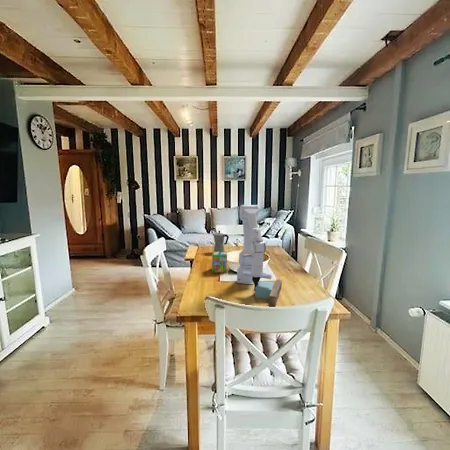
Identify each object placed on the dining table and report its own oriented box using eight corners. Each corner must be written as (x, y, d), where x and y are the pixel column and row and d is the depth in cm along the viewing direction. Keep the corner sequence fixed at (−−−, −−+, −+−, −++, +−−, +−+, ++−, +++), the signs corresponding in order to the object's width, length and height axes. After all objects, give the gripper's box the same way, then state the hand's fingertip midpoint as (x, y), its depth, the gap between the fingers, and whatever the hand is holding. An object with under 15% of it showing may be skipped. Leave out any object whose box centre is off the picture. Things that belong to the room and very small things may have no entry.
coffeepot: (209, 252, 226) (209, 230, 224) (215, 250, 234) (215, 229, 232) (225, 255, 218) (225, 232, 216) (231, 252, 226) (231, 230, 224)
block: (254, 297, 137) (255, 287, 136) (258, 290, 147) (259, 281, 146) (271, 299, 135) (271, 289, 134) (273, 292, 144) (274, 283, 143)
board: (268, 305, 128) (269, 295, 128) (275, 287, 151) (276, 279, 150) (275, 306, 127) (275, 296, 127) (281, 288, 150) (281, 280, 149)
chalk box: (211, 268, 183) (212, 246, 181) (225, 268, 183) (226, 246, 181) (212, 273, 174) (212, 249, 171) (226, 272, 174) (227, 249, 172)
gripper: (241, 265, 138) (240, 291, 140) (270, 269, 134) (269, 295, 136) (244, 261, 145) (243, 286, 147) (272, 265, 141) (271, 290, 143)
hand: (256, 290), depth 142 cm, fingers closed, pressing on block
